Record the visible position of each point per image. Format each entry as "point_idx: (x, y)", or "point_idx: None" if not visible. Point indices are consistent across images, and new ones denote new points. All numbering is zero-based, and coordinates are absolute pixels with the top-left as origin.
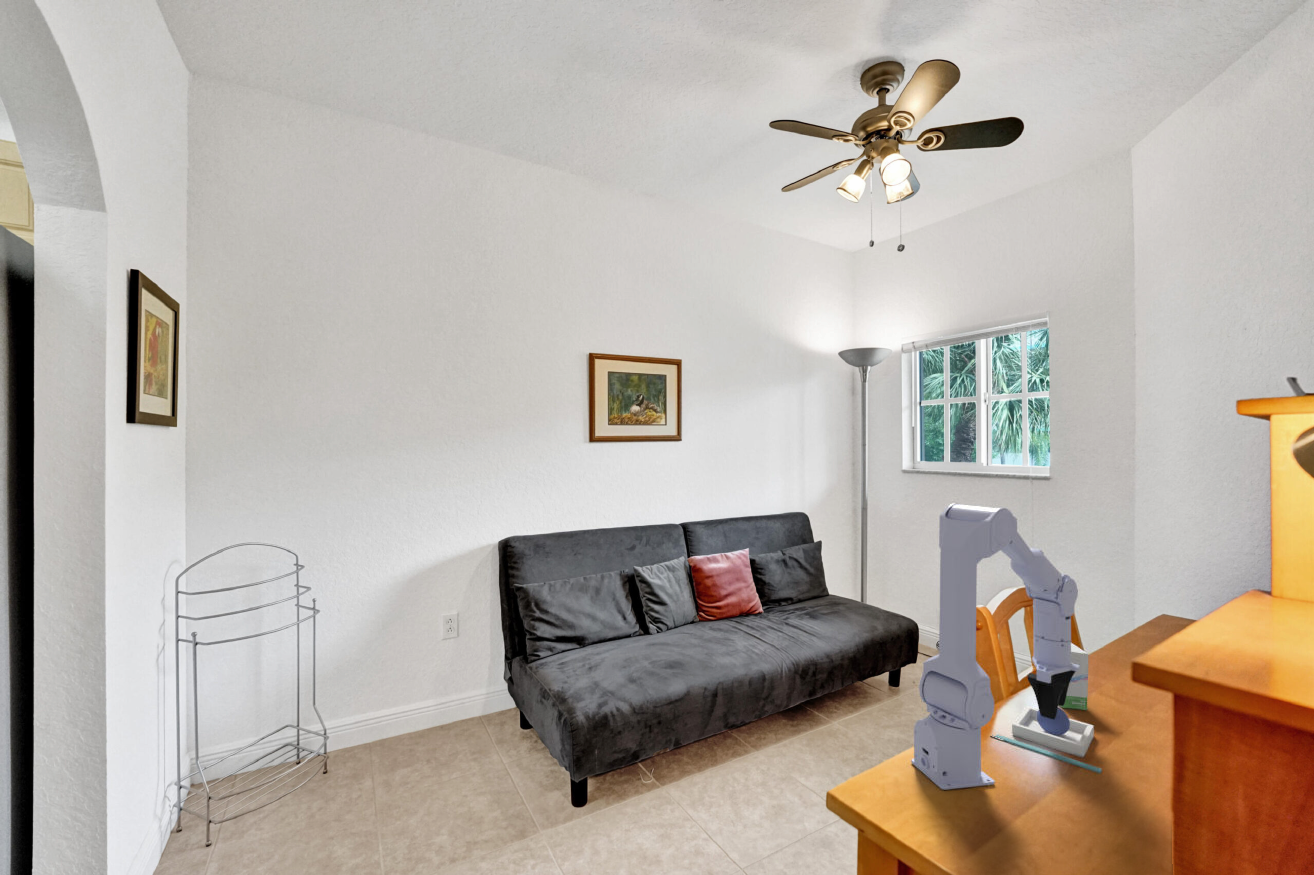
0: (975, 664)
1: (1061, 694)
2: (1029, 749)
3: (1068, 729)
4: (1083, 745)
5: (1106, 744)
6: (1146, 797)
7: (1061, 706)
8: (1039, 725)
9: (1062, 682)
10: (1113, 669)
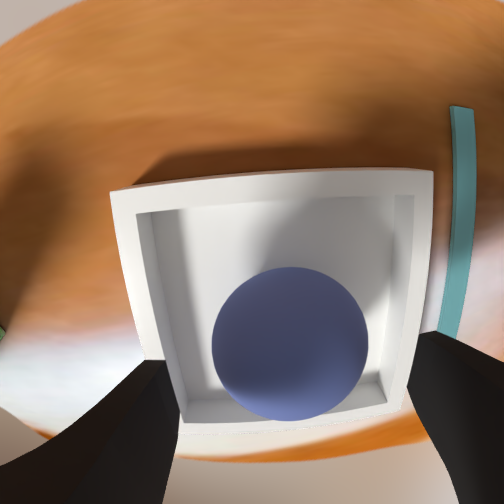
0: None
1: (143, 420)
2: (458, 316)
3: (292, 267)
4: (424, 171)
5: (170, 124)
6: (485, 12)
7: (3, 335)
8: None
9: (110, 497)
10: None
